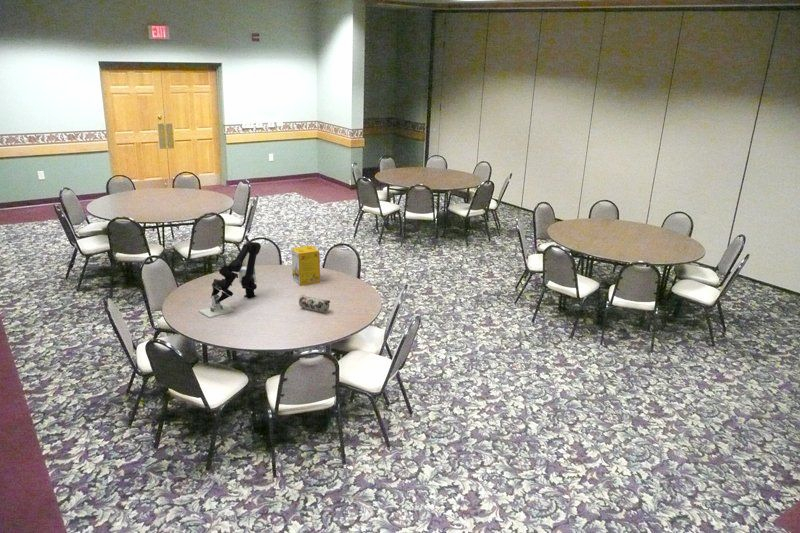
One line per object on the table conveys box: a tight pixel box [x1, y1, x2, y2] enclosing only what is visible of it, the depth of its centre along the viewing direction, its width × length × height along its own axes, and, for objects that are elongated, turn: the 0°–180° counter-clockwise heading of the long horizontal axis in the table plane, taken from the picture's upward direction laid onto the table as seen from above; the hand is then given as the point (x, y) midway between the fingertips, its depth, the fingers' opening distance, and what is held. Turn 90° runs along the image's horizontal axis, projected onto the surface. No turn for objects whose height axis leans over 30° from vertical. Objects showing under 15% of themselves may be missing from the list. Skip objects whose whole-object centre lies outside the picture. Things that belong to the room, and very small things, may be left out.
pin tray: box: [198, 303, 236, 319], centre depth 385 cm, size 14×18×4 cm
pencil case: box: [298, 294, 331, 314], centre depth 389 cm, size 22×8×10 cm, turn 64°
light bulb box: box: [238, 265, 257, 283], centre depth 438 cm, size 11×7×11 cm, turn 84°
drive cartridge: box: [210, 294, 221, 312], centre depth 384 cm, size 4×4×10 cm
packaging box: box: [290, 245, 321, 287], centre depth 439 cm, size 16×16×25 cm
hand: (214, 300), depth 382 cm, fingers open, 9 cm apart
